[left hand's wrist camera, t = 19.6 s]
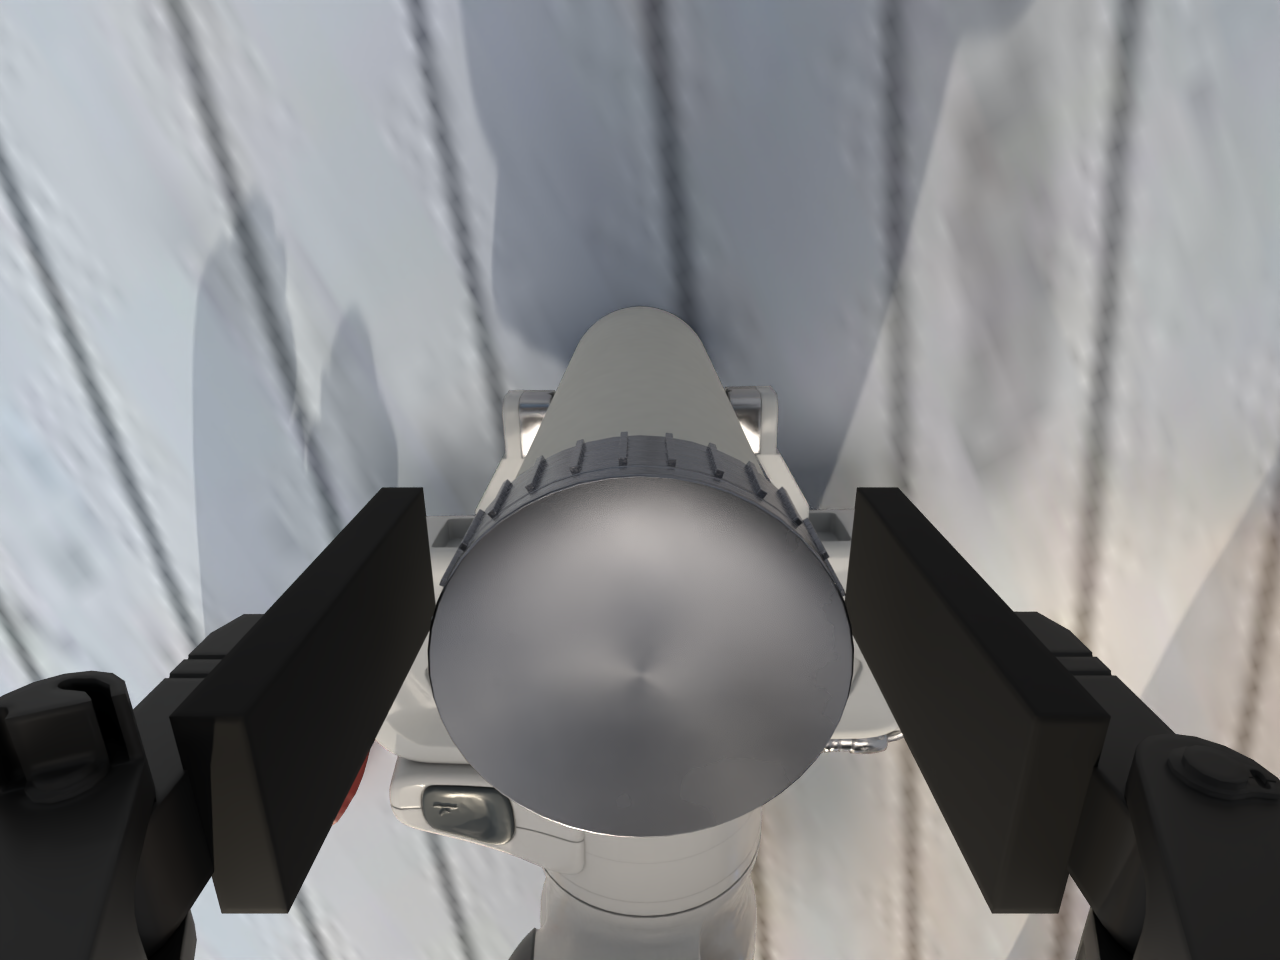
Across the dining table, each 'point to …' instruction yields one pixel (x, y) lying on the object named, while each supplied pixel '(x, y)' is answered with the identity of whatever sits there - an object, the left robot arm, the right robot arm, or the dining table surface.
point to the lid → (640, 639)
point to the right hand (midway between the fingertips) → (638, 391)
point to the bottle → (640, 389)
